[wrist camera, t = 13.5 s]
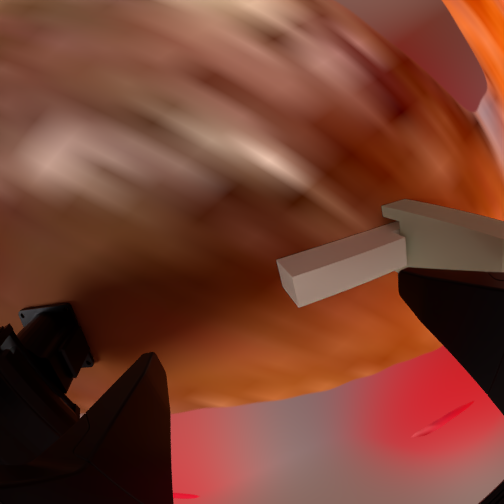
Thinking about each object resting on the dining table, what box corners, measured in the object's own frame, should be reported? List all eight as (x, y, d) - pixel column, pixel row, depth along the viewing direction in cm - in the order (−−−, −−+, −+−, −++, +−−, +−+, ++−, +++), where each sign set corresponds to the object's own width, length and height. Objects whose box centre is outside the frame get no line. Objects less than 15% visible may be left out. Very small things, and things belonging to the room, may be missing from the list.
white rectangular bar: (282, 286, 23) (298, 307, 19) (276, 259, 22) (292, 277, 19) (438, 229, 25) (465, 238, 21) (436, 207, 24) (464, 214, 21)
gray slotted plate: (410, 257, 25) (511, 308, 13) (387, 267, 25) (491, 327, 12) (405, 198, 23) (522, 226, 11) (381, 205, 23) (503, 239, 11)
